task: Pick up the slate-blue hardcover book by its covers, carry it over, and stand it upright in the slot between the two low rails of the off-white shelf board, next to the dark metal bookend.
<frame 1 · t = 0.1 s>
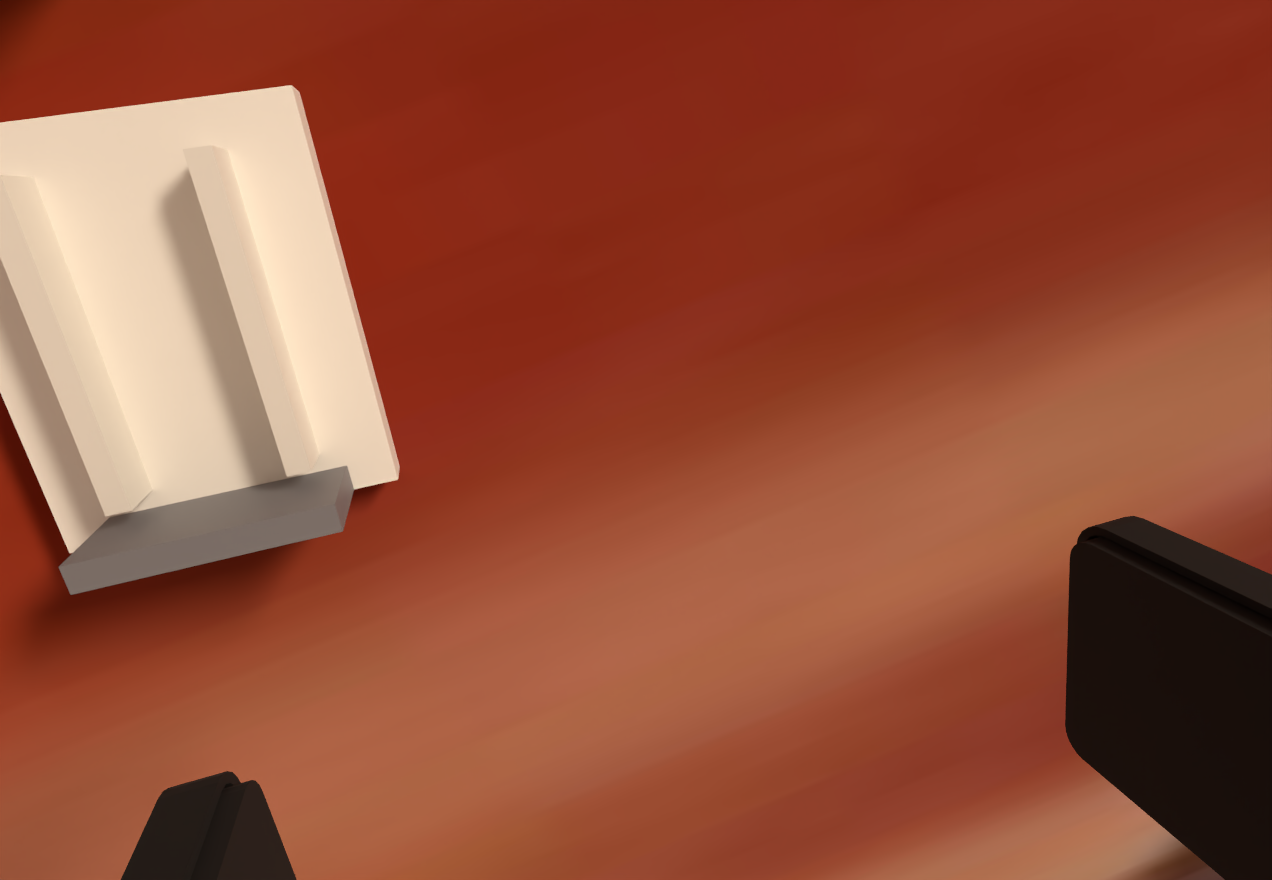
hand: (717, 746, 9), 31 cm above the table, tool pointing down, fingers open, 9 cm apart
shelf: (189, 322, 34), on the table
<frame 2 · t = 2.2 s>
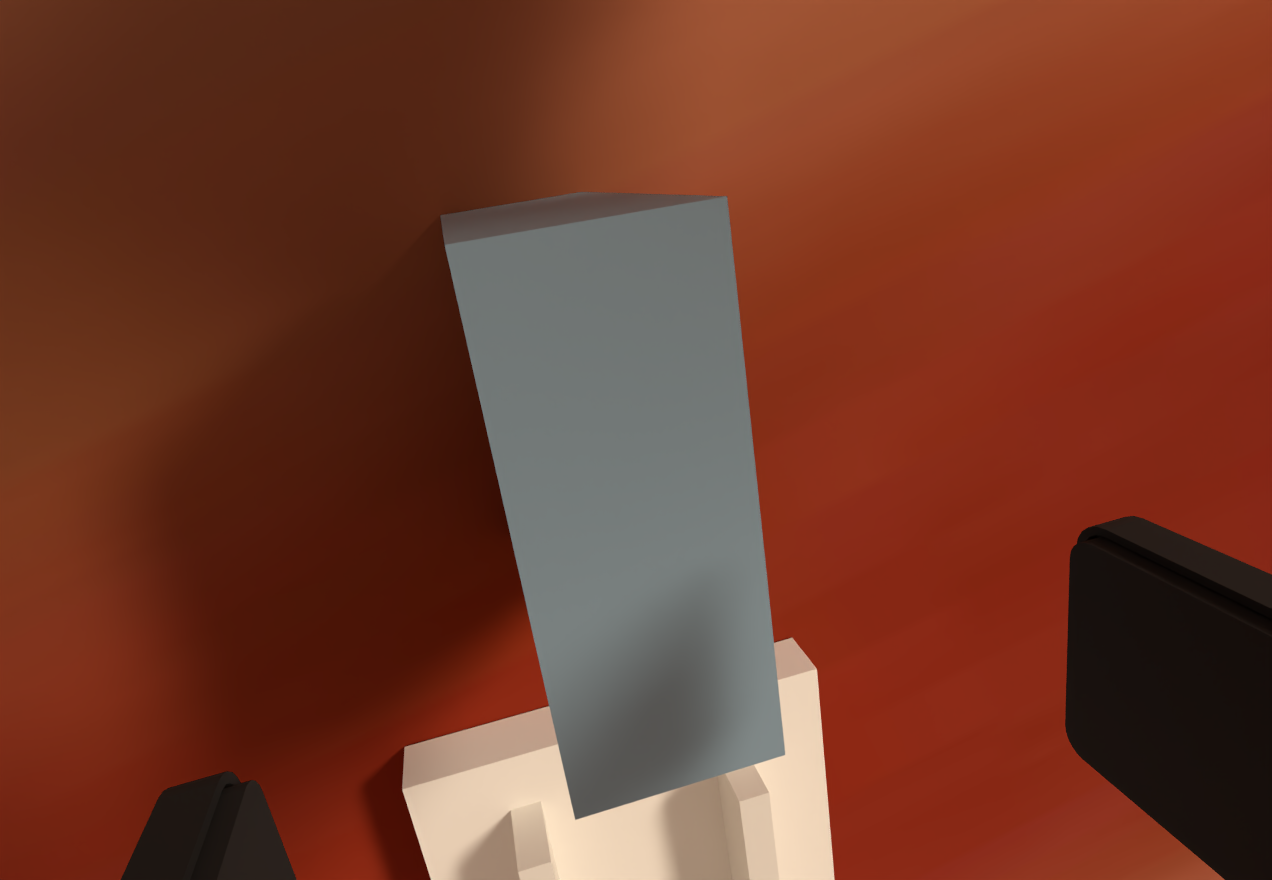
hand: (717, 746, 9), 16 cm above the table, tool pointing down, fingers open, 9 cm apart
book: (545, 374, 24), on the table
shelf: (642, 870, 30), on the table
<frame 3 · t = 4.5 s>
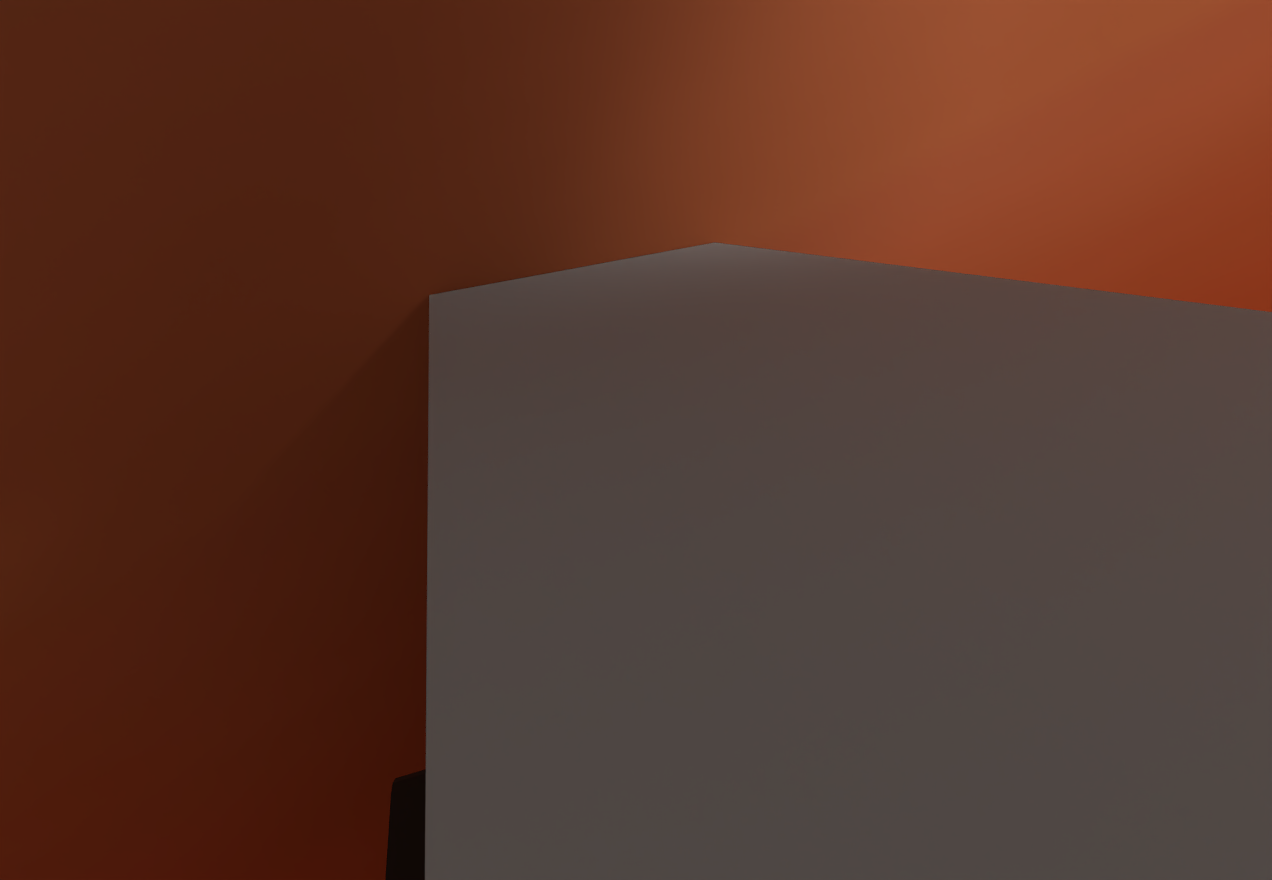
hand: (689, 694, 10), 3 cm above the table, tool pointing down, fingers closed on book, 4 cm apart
book: (633, 588, 12), on the table, touching gripper
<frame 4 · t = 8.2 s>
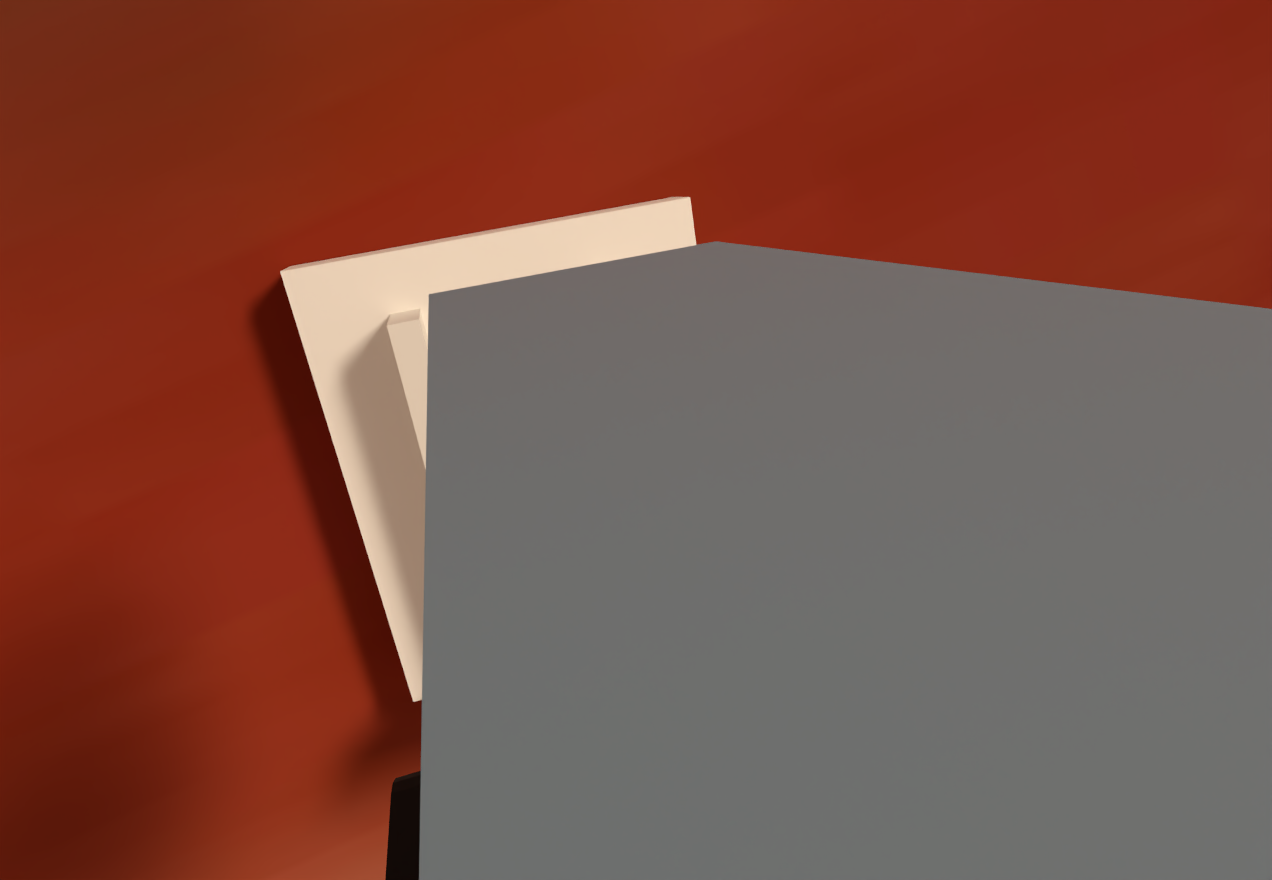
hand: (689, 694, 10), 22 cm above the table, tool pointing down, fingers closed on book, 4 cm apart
book: (633, 589, 12), point 19 cm above the table, touching gripper
shelf: (537, 447, 31), on the table
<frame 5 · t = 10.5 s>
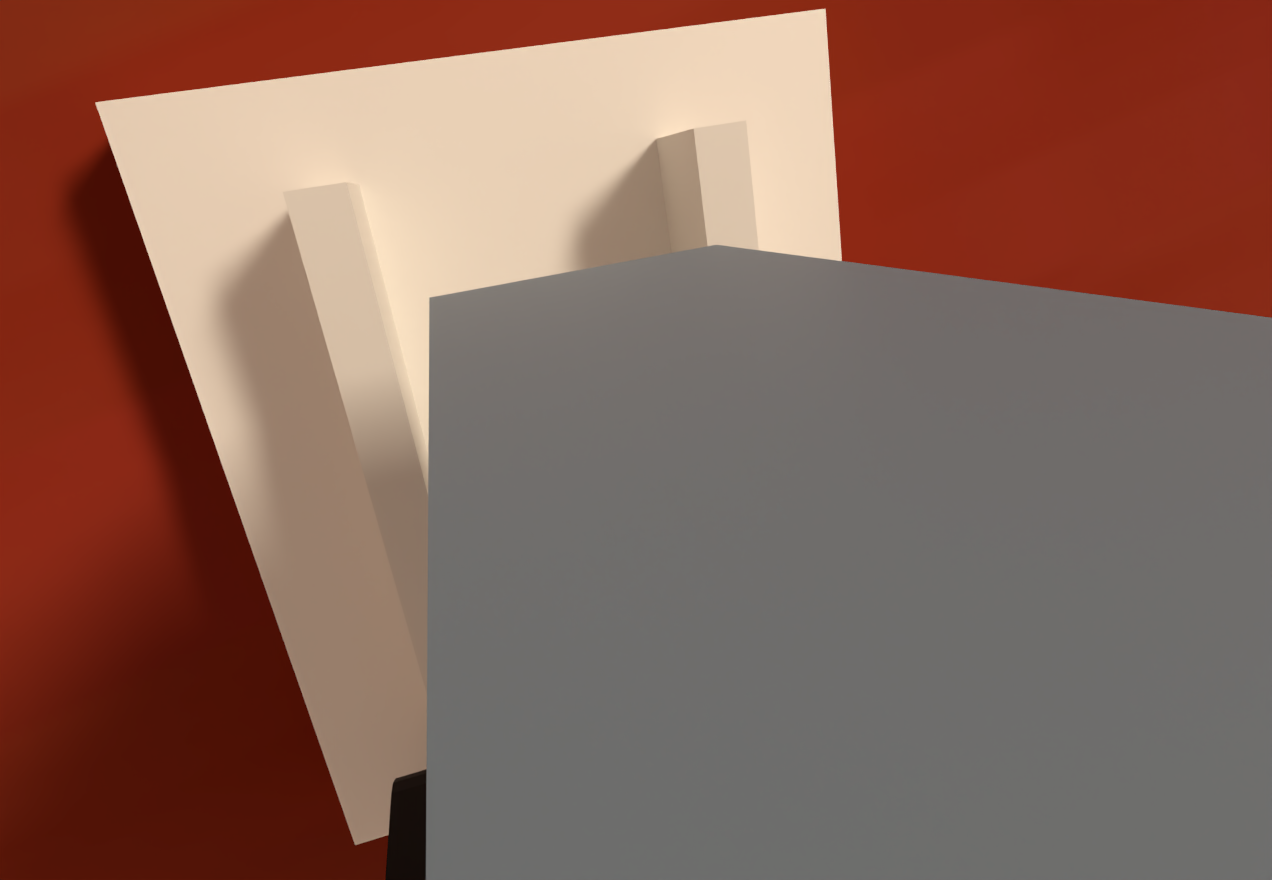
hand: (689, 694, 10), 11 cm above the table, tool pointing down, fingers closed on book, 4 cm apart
book: (634, 592, 12), point 8 cm above the table, touching gripper
shelf: (557, 436, 20), on the table
when the fingers open (6 cm above the table, at t = 12.3 s): book stays where it is, resting on shelf.
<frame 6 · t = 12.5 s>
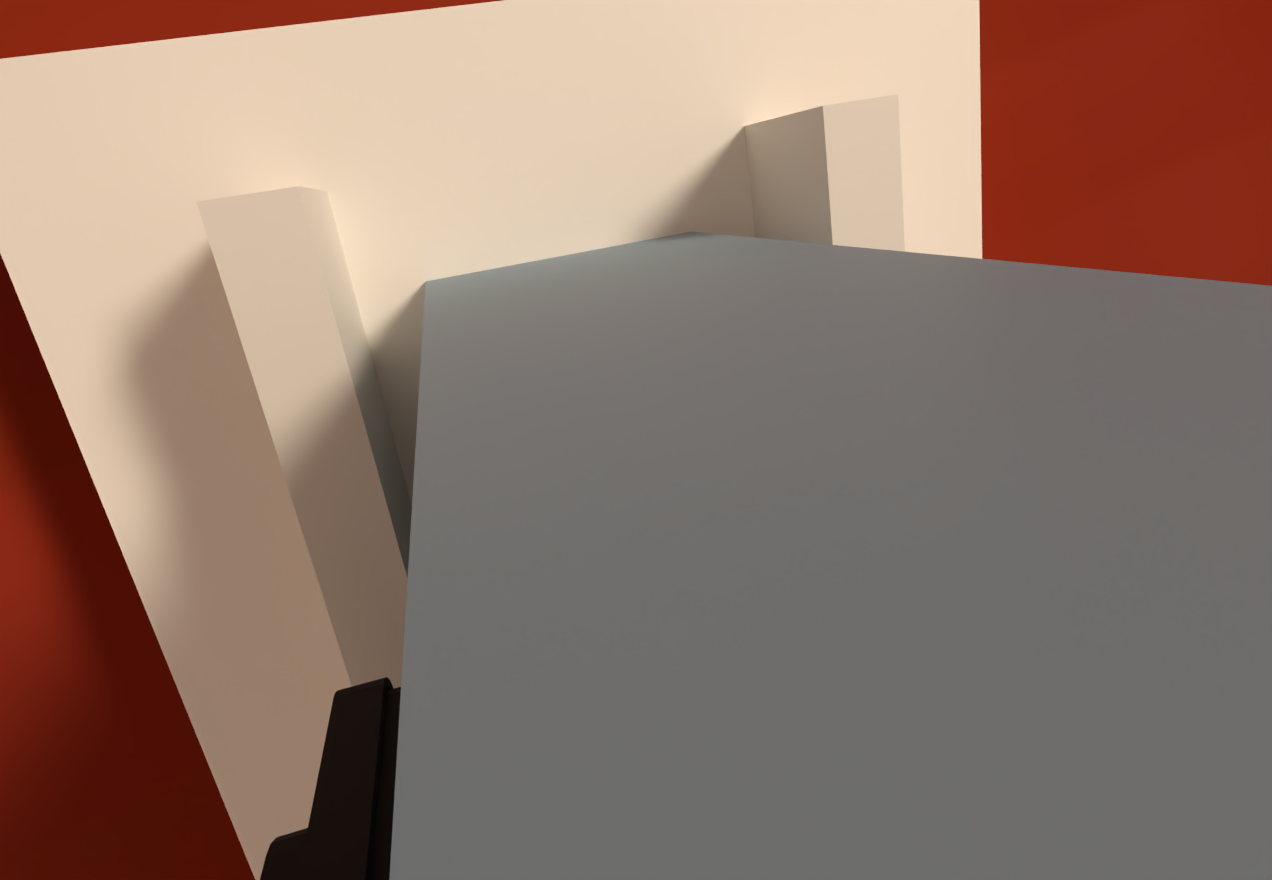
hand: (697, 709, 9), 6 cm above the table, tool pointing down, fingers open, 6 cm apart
book: (619, 557, 13), point 2 cm above the table, touching shelf
shelf: (596, 519, 15), on the table
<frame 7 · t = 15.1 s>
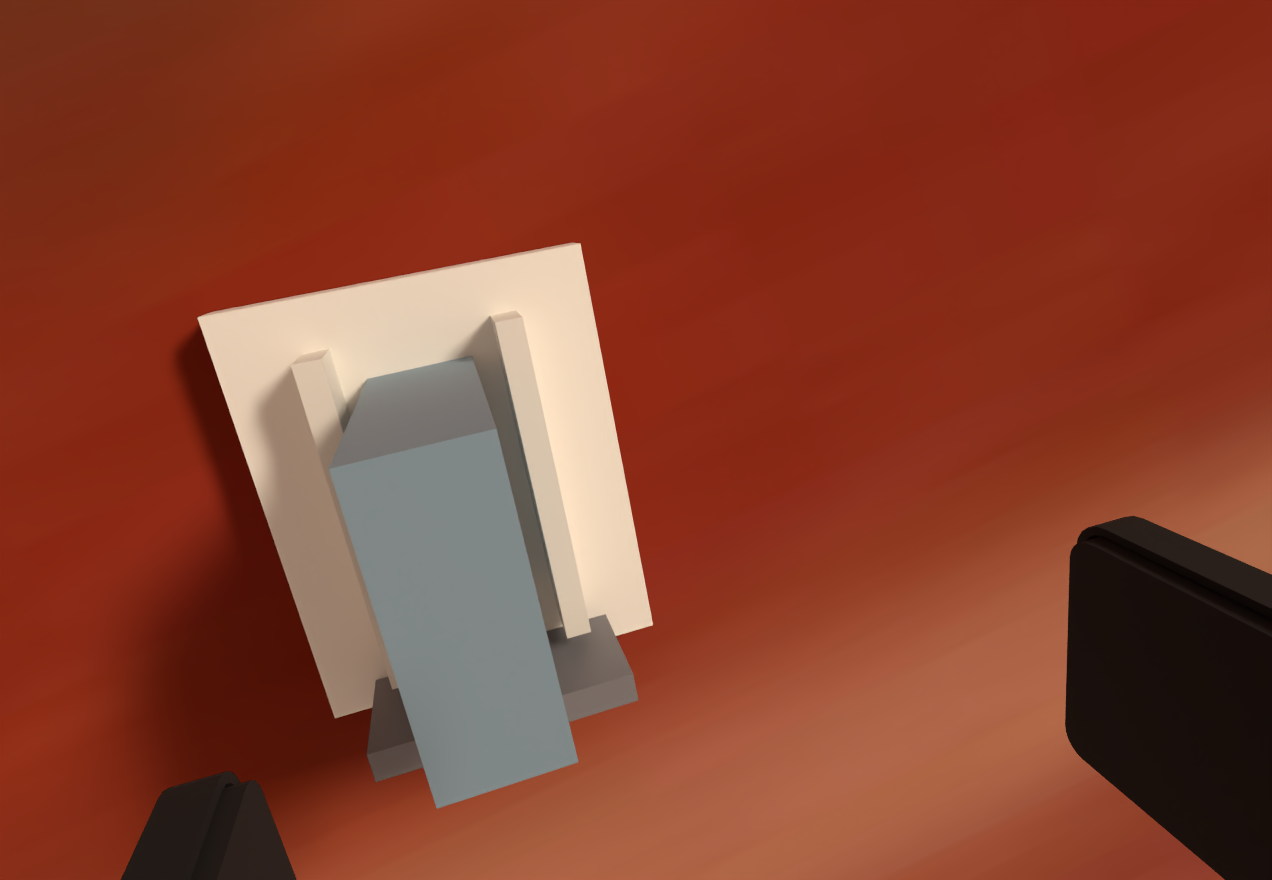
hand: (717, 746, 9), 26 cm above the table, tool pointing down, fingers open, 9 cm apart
book: (452, 487, 31), point 2 cm above the table, touching shelf
shelf: (451, 475, 33), on the table
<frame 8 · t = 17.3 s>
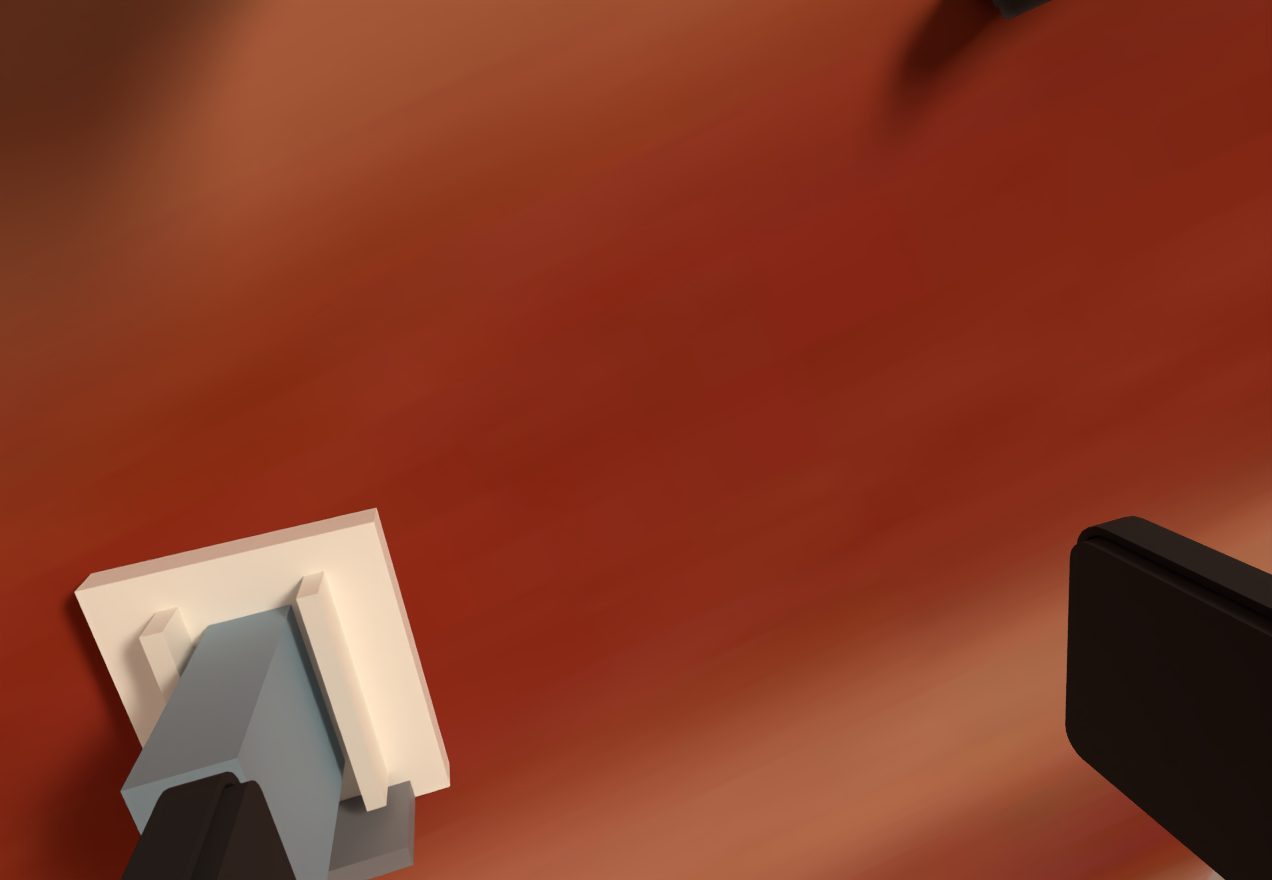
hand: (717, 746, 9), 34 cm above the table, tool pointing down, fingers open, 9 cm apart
book: (280, 696, 41), point 2 cm above the table, touching shelf
shelf: (286, 677, 43), on the table
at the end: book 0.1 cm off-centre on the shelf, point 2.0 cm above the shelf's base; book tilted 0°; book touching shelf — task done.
